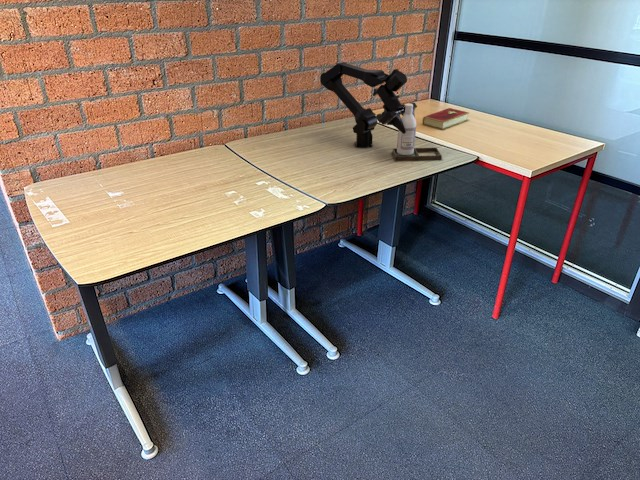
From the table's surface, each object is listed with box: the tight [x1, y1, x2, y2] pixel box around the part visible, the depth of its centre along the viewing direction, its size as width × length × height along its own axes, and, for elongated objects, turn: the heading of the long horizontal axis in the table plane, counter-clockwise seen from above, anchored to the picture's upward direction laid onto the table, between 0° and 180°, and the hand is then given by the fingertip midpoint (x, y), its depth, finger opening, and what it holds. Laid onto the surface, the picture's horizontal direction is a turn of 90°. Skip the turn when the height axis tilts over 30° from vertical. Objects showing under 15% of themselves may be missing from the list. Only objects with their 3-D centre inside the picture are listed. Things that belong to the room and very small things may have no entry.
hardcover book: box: [422, 107, 470, 131], centre depth 238 cm, size 12×21×4 cm, turn 132°
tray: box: [392, 147, 443, 162], centre depth 201 cm, size 18×10×2 cm, turn 91°
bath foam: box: [396, 103, 417, 155], centre depth 196 cm, size 7×7×20 cm
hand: (410, 130), depth 195 cm, fingers closed on bath foam, 7 cm apart
